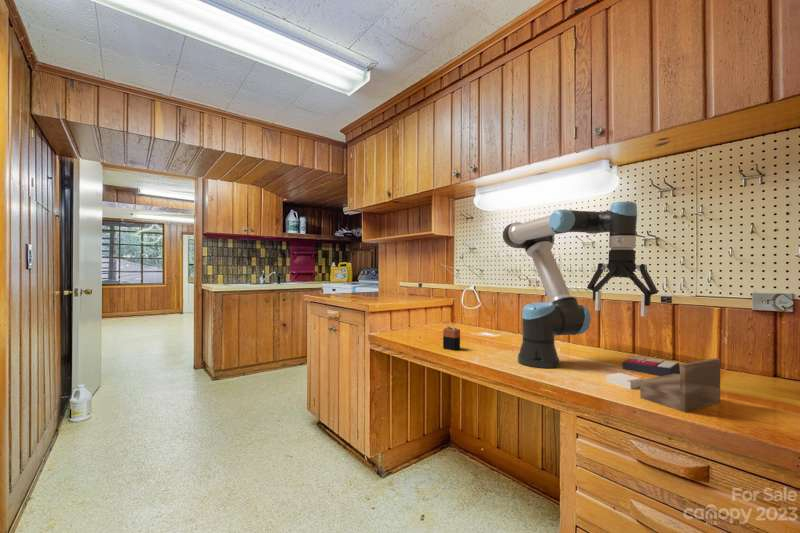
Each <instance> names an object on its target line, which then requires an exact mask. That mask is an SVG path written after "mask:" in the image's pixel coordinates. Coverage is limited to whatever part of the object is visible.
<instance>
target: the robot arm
mask: <svg viewBox="0 0 800 533" xmlns="http://www.w3.org/2000/svg"><path fill="white" fill-rule="evenodd" d="M637 206H638V205H637V203H636V202H634V201H617V202H616V201H615V202H612V203H611V204H610V208H609V209H608V210H603V211H593V210H592V211H588V210H573V209H572V210H571V209H556V210H554V211H553V212H552V213H551V214H550V215H546V216H543V217H539V218H536V219H532V220H528V221H525V222H520V221H516V222H512V223H510V224H508V225H506V226H505V227H504V229H503V231H502V240H503V242H504V243H505V244H506V245H507V246H508V247H511V248H514V249H524V250H525V253H526V255H527V256H528V257H531V258H532V261H533V263H534V266H535V269H536V271H537V274H538V276H539V279H540V281H541V283H542V287H543V289H544V292H545V295H546V296H547V299H548V302H547V301H546V302H545V301H544V302H543V301H542V302H540V301H539V302H531V303H528V304H525V305H523V306H524V307H523V309H522V315H521V318H522V343H521V345H520V346H521V347H520V349H519V353H518V355H517V362H518V363H520V364H521V365H524V366H528V367H532V368H533V367H534V368H541V369H543V368H544V369H550V368H551V369H553V368H556V367H559V366H560V358H559V356H558V352H557V349H556V346H555V336H577V335H582V334H584V333H586V332H587V331H588V329H589V328H590V326H591V325H590V324H591V319H592V318H591V312H590V310H589V308H587V307H586V306H584V305H582V304H579V301H578V299H577V298H576V296H572V295H571V294H570V291H569V289H568V287H567V284H566V282H565V280H564V277H563V275H562V272H561V270H560V268H559V266H558V263H557V261H556V259H555V256H554V254H553V251H552V249H553V247H554V243H555V236H556V235H558V234H560V235H561V234H565V233H585V234H589V235H590V234H591V235H592V234H594V235H596V234H601V233H602V234H603V233H609V236H608V238H609V239H608V249H609V250H608V261H607V262H608V263H607V264H606V263H603V262H599V263H598V264H597V269H596V271H595V273H594V274H593V276H592V278H591V280H590V281H589V283H588V284H587V287H586V288H587V289H588V290H590V291H592V301H595V304H594V306H595V308H594V311H596V312H598V311H601V310H602V291H600V290H601V289H602V288H603V287H604V286H605V285H606V284H607V283H608V282H609V281H610V280H611V279H613V278H614V277H615V278H628V279H629V280H631V281H632V282H633V284H635V286H636V287H637V288H638V289H639V290H640V291H641V292H642V294H644V295H641V298H640V300H641V303H640V317H647V308H648V307H649V306H651V302H652V301H651V300H652V299H651V297H652V296H653V295H657V294H658V293H659V290H658V288H657V287H656V285H655V284H654V281H653V279H652V277H651V276H650V273H649V272H648V266H647V264H645V263H641V264H636V250H635V248H636V246H637V222H638V209H637V208H638V207H637ZM606 269H607V270H608V272H607V273H606V274H605V276H604V277H603V278H602V279H601V280H599V279H600V277H601V276H602V274H603V272H604V271H605V270H606ZM636 270H637V271H638V272H640V275H641V277H642V279H643V280H644V282H645V283H646V285H647V286H646V285H645V284H644V283H643V282H642V280H640V278H639V277H638V276H637V275H636V273H634V272H635V271H636ZM598 281H599V282H598Z"/></svg>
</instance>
